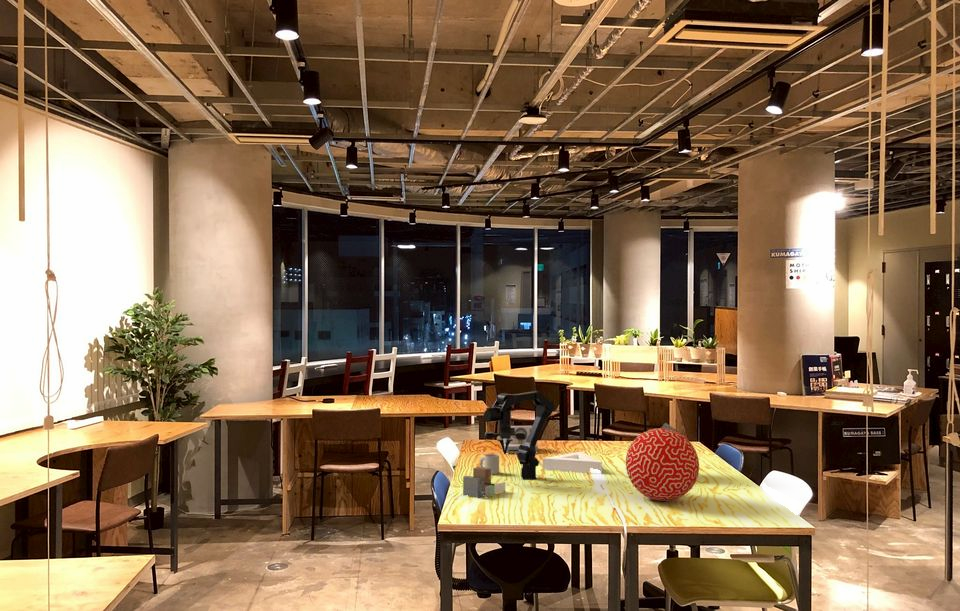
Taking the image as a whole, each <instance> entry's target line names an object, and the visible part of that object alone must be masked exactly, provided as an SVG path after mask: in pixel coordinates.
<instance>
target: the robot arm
mask: <svg viewBox="0 0 960 611" xmlns="http://www.w3.org/2000/svg"><path fill="white" fill-rule="evenodd" d="M530 401H532V402H533V404H535V406H536V409H535V413H536V416H535V418H534V421H533V422H532V425H531V426H532V428H531V431H530V433H529V436H528V438H527V441H526V443H525V444H524V445H520V446H519V450H518V451H517V454H516V457H517V460H518V461H519V465H521V469H520V471H521V472H520V477H521V478H522V480H537V467H538V466H539V464H540V461H539V460H538V459H537V457H536V449H535V446H536V444H538V441H539V438H540V436H541V433H542V431H543V428H544V426H545V423H546V420H547V419H548V418H549V417H550V416H551V415H552V414H553V412H554V410H555V407H556V406H555V403H554V402H553V401H552V400H550V399H549V398H548V397H547V396H545V395H544V394H542V393H541V392H540V391H539V390H538V391H537V390H536V391H535V390H532V391H528V392H522V393H521V392H520V393H514V394H513V393H512V394H511V393H500V394H498V395H497V398H496V400H495V402H494V403H493V404H492V407H490V406H487V407H486V408H485V411H484V413H483V420H484V421H485V422H486V423H493V422H494V423H495V422H498V433H494V431H485V433H484V440H493V439H494V438H496V441H497V442H499V443H500V445H501V446H502V449H503V451H502V452H503V455H507V454H506V452H507V448H508V446H509V443H510V442H511V441H513V439H512V438H518V439H525V433H524V432H516V434H515V428H511V426H512V411H513V412H514V411H516V409H515V408H514V407H513V406H515V405H516V404H518V403H522V402H530ZM504 439H506V444H505V448H504ZM502 449H501V450H502Z"/></svg>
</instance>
